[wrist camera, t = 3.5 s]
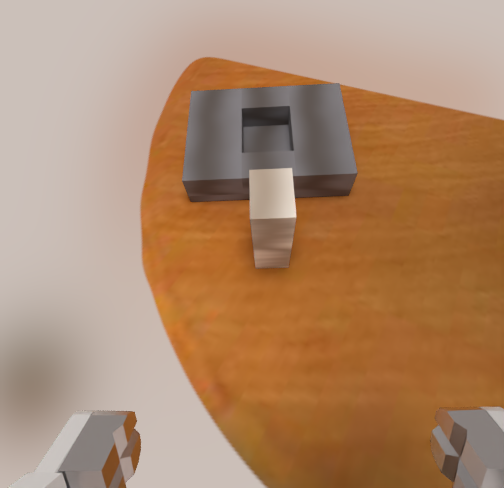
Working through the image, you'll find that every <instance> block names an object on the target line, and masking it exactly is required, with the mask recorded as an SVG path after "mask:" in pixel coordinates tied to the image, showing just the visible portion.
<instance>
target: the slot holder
mask: <svg viewBox="0 0 504 488" xmlns="http://www.w3.org/2000/svg"><path fill="white" fill-rule="evenodd" d="M281 168H292V173H293V185H294V196H295V198H298V197H323V196H348V195H349V193H350V191H351V188H352V186H353V183H354V181H355V178H356V176H357V174H358V173H357V168H356V163H355V158H354V153H353V148H352V143H351V138H350V134H349V129H348V124H347V119H346V114H345V109H344V104H343V99H342V94H341V89H340V84H339V83H336V84H317V85H299V86H280V87H262V88H244V89H225V90H207V91H191V100H190V110H189V119H188V129H187V139H186V149H185V159H184V168H183V178H182V182H183V184H184V186H185V189H186V191H187V194H188V196H189V198H190V201H191V202H199V201H224V200H249V199H250V184H249V170H258V169H281Z"/></svg>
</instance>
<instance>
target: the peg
mask: <svg viewBox="0 0 504 488" xmlns="http://www.w3.org/2000/svg"><path fill="white" fill-rule="evenodd" d="M249 184H250V224H251V232H252V241H253V250H254V258H255V267H256V268H285V267H289V261H290V255H291V249H292V242H293V236H294V230H295V223H296V207H295V196H294V185H293V173H292V168H281V169H258V170H249Z"/></svg>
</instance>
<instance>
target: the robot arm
mask: <svg viewBox="0 0 504 488" xmlns="http://www.w3.org/2000/svg"><path fill="white" fill-rule="evenodd" d="M435 420H436V421H437V423H438V424H439V425H438V426H437V427H436V428H435V429H434V430H432V433H431V439H430V442H431V448H432V453H433V456H434V459H435V461H436V463H437V465H438V467H439V469H440V471H441V473H443V474H444V475H445V476H446V477H447V478H449V479H450V480H451V481H452V482H453V485H452V488H504V409H503V408H501V407H445V408H439V409H438V410H437V411H436V415H435ZM136 422H137V420H136V416H135V412H132V411H77V412H76V413H74V414H73V415H72V416H71V417H70V419H69V420H68V422H67V423H66V425H65V426H64V428H63V429H62V431H61V432H60V434H59V435H58V437H57V438H56V440H55V441H54V443H53V444H52V446H51V447H50V449H49V450H48V452H47V453H46V455H45V456H44V458H43V459H42V461H41V462H40V464H39V465H38V467H37V468H36V470H35V471H34V473H27V474H25V475H24V476H22V477H21V478H20V479H19V480H17V481H16V482H15V483H13V484H12V485H11V486H9V487H8V488H126V485H125V483H126V482H127V480H129V479H130V478H131V477H132V476H133V475H134V473H135V470H136V468H137V465H138V461H139V456H140V451H141V439H140V434H139V433H138V432H137V431H136V430H135V429H134V427H135V425H136Z"/></svg>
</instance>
